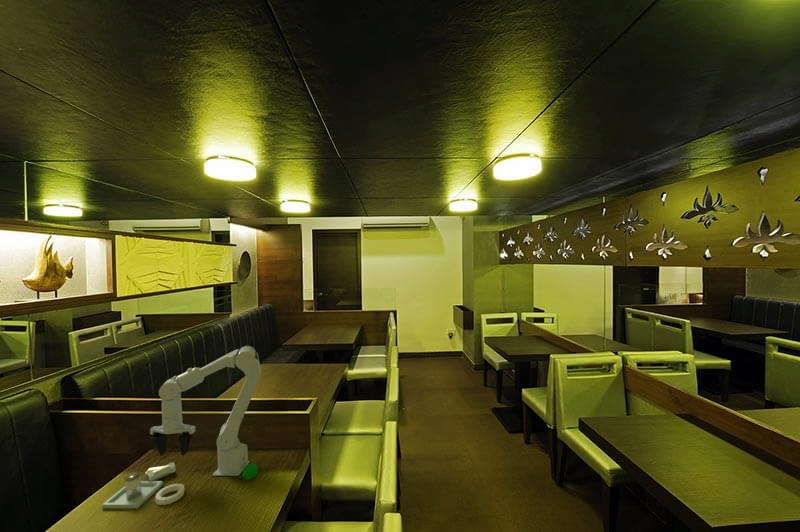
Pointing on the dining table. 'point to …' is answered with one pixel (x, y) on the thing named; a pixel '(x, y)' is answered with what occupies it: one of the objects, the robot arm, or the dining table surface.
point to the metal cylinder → (133, 485)
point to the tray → (122, 503)
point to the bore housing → (170, 499)
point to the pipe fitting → (160, 472)
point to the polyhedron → (250, 471)
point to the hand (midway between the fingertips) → (173, 453)
